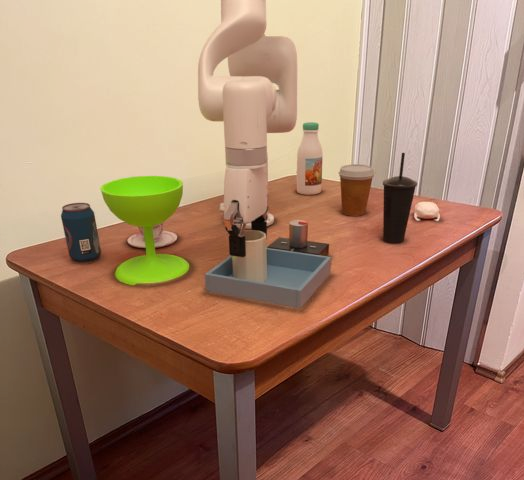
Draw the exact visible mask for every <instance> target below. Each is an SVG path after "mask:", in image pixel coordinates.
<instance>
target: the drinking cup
mask: <svg viewBox="0 0 524 480" xmlns="http://www.w3.org/2000/svg"><path fill="white" fill-rule="evenodd" d="M405 156H406V153H405V152H402V153H401V157H400V165H399V175H396V176H395V175H394V176H392V177H389V178H387V179H384V180H383V181H382V185H383V208H382V209H383V210H382V211H383V213H382V214H383V215H382V216H383V217H382V218H383V220H382V222H383V223H382V240H383V242H385V243H388V244H401V243H403V242H404V240H405V236H406V233H407V227H408V224H409V223H408V222H409V218H410V214H411V209H412V206H413V205H412V204H413V200H414V196H415V191H416V187H417V186H418V182H417V181H416V180H414V179H412V178H410V177H408V176H404V175H403V173H404V166H405V165H404V164H405Z"/></svg>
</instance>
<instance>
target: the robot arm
mask: <svg viewBox="0 0 524 480" xmlns="http://www.w3.org/2000/svg"><path fill="white" fill-rule="evenodd" d="M266 30H267V0H220V24H219V25H218V26H217V27H216V28H215V29H214V30H213V32H212V33H211V34H210V36H209V37H208V38H207V40H206V41H205V43H204V45H203V47H202V49H201V52H200V55H199V58H198V62H197V63H198V64H197V98H198V99H197V100H198V108H199V111H200V114H201V115H202V117H203V118H204V119H206V120H207V121H209V122H217V123H218V122H223V134H224V135H223V137H224V156H225V173H224V181H223V202H220V204H219V212H220V213H223V223H224V225H225V230H226V231H225V232H226V235H227V236H228V246H229V247H228V252H229V256H230V255H231V256H237V257H245V256H246V243H245V236H243V234H244V230H257V231H261V232H264V233H265V234H266V241H268V227H270V226H272V225H273V224H274V223H275V216H274V215H273V214H271V213H270V212H269V200H270V195H269V155H268V134H284V133H285V134H286V133H290V132H291V131H293V130H294V129H295V127H296V124H297V119H298V54H297V53H298V52H297V47H296V44H295V42H294V41H293V39H292V38H291V37H288V36H284V35H275V36H274V35H273V36H272V35H269V36H268V35H266V34H265V33H266ZM226 59H227V67H228V73H229V75H227V76H225V75H224V76H214V72H215V70H216V68H217V67H218V65H220V64H221V62H223V61H224V60H226ZM273 84H274V85H276V86H277V87H278V89H276V86H274V85H273Z"/></svg>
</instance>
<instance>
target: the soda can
mask: <svg viewBox="0 0 524 480" xmlns="http://www.w3.org/2000/svg"><path fill="white" fill-rule="evenodd" d="M61 209H62V211H61V214H60V218H61V219H60V220H61V223H62V228H63V233H64V238H65V242H66V247H67V252H68V256H69V258H70V259H71V261H73V263H75V264H81V265H83V264H84V265H85V264H91V263H95V262H97V261H98V260H99V259H100V256H101V254H102V249H101V244H100V243H101V242H100V236H99V232H98V226H97V221H96V216H95V215H96V214H95V211H94V210H93V209H92V207H91V205H90V204H89V203H87V202H73V203H68V204H65V205H63V206H62V207H61Z"/></svg>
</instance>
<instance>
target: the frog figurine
mask: <svg viewBox="0 0 524 480" xmlns="http://www.w3.org/2000/svg"><path fill="white" fill-rule="evenodd" d="M413 210H414V212H413V219H414V220H415V221H416V222H420V221H421V219H423V220H424V219H425V220H430V219H431V220H432V219H433V220H434V221H435V222H439V221H440V218H441V214H440V208H439V207H438V204H436V203H435V202H433V201H420V202H418V203H416V204H415V205H414V209H413Z"/></svg>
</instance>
